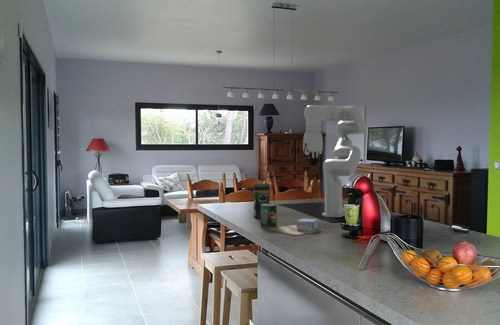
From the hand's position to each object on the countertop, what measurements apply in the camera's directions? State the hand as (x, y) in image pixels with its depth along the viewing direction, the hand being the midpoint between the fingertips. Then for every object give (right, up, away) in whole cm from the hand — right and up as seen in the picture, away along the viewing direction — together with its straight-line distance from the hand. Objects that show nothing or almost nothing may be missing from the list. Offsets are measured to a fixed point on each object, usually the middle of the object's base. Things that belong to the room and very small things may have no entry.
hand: (313, 165), depth 232 cm
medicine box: (-3, -27, -14) cm, 31 cm away
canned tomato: (-23, -30, -8) cm, 39 cm away
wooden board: (-11, -30, -19) cm, 37 cm away
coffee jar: (-26, -29, +20) cm, 43 cm away
